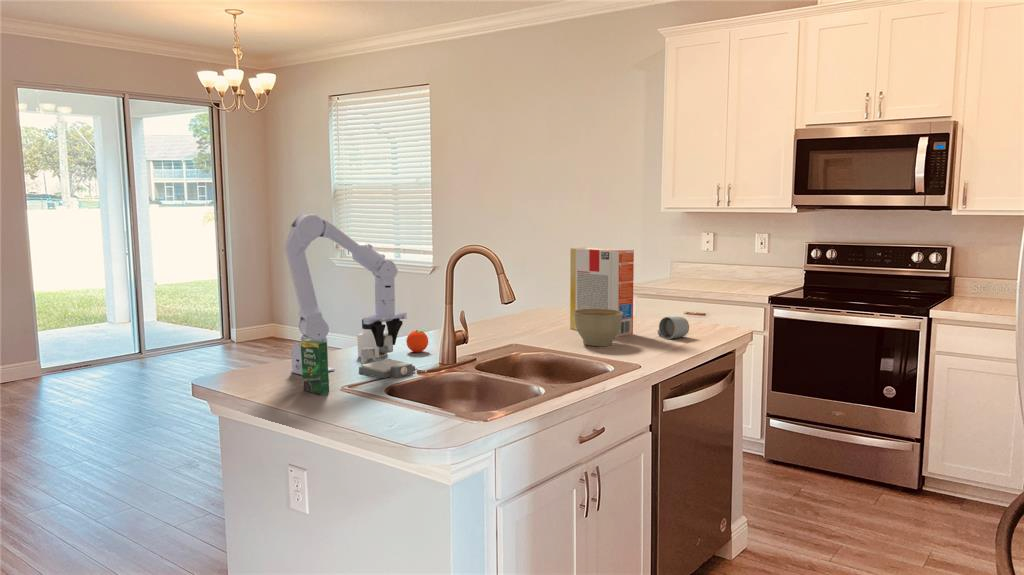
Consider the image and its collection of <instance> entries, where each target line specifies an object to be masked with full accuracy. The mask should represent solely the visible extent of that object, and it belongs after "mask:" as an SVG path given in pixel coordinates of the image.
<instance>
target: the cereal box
mask: <svg viewBox="0 0 1024 575" xmlns="http://www.w3.org/2000/svg"><path fill="white" fill-rule="evenodd" d="M634 254H635V250H634V249H622V248H621V249H620V248H606V247H605V248H600V247H587V246H586V247H572V248H570V254H569V255H570V257H569V258H570V260H569V261H570V278H569V279H570V281H569V282H570V284H569V286H570V291H569V292H570V296H569V297H570V298H569V300H570V305H569V306H570V309H569V310H570V311H569V312H570V314H569V316H570V317H569V318H570V320H569V321H570V323H569V324H570V326H569V327H570V330H573V329H574V331H578V330H577V328H576V324H575V316H574V311H575V310H580V309H612V310H618V311H621V312H623V316H622V323H621V327H620V330H619V332H618V334H617V335H616V337H615V338H620V337H626V336H631V335H633V334H634V274H635V273H634V269H635V268H634V266H635V264H634V263H635V262H634V260H635V259H634V258H635V257H634Z"/></svg>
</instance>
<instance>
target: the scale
mask: <svg viewBox="0 0 1024 575" xmlns="http://www.w3.org/2000/svg"><path fill="white" fill-rule="evenodd" d="M413 371H416V366H415V365H413V363H410V362H405V361H401V360H397V359H396V360H395V359H392V358H388V359H383V360H379V361H375V362H373V363H368V364H363V365H361V364H360V366H359V367H358V373H359V374H364V375H366V376H367V375H368V376H371V377H376V378H378V379H379V378H380V379H383V378H384V379H388V377H389V378H394V379H397V378H401V377H405V376H410V375H413V373H414V372H413Z"/></svg>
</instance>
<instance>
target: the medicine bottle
mask: <svg viewBox="0 0 1024 575" xmlns="http://www.w3.org/2000/svg"><path fill="white" fill-rule="evenodd" d="M381 323H382V324H383V322H381ZM361 329H362V330H361V331H362V332H361V333H359V334H357V335H356V336H357V338H356V339H357V358H361V349H363V348H375V359H380V358H382V357H383V356H386V355H387V354H388V353H381V352H379V347H377V345H376V341H375V338H374V335H373V333H372V331H371V329H370V327H369V326H368V325H367V324H363V318H362V320H361ZM384 334H388V331H385V330H384Z"/></svg>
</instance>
